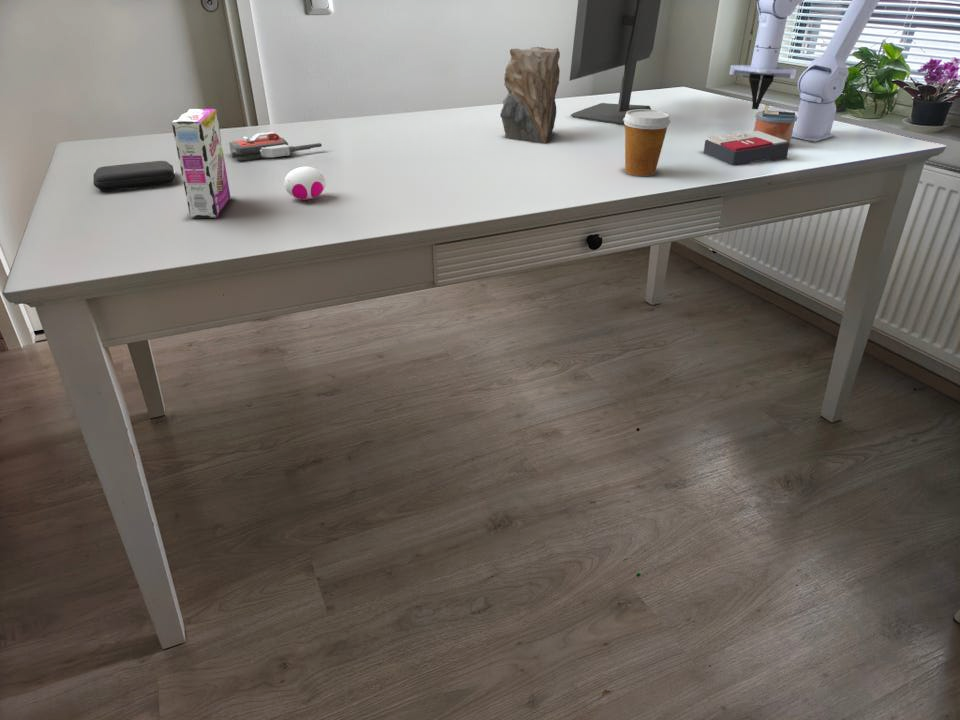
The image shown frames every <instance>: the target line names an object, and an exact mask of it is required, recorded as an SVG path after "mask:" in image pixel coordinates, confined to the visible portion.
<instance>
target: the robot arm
mask: <svg viewBox="0 0 960 720" xmlns="http://www.w3.org/2000/svg"><path fill="white" fill-rule="evenodd" d="M804 1H805V0H757V1H756V9H757V12H758V19H757V20H758V26H757V32H756V38H755V42H754V47H753V53H752V58H751V62H750V64H731V65H730V68H729V75H730V76H734V75H736V76H737V75H738V76H739V75H740V76H749V77H748V82H749V85H750V90H751V100H752V101H751V102H752V105H751V109H752V110H759V107H760V104H761V103H762V100H763V98H764V96H765V94H766V93H767V91H768V89H769V88H770V87H771V85H772V83H773V82H774V78H780V79H781V78H784V79H790V80H795V79H796V75H797V70H798V69H797V68H789V67H781V66H778V64H779V58H780V53H781V49H782V45H783V44H782V43H783V40H784V34H785V30H786V27H787V26H786V25H787V21H788V17H790V16H791V15H792V14H793V13H794V12H795V10H796V9H797V6H798V5H800V4H801V3H803V2H804ZM880 1H881V0H851V1H850V3H849V4H848V7H847V9H846V11H845V13H844V14H843V17H842V18H841V20H840V22H839V23H838V25H837V27H836V29H835V31H834V33H833V35H832V37H831V39H830V41H828V42H829V43H828V44H827V45H826V47H825V50H824V51H823V54H821V55H820V56H818V57H816V58H815V59H813V60H811V61H810V64H809V65H808V67H807V68H806V69H805V70H804V71H803V72H802V73H801V75H800V76H799V78H798V80H797V91H798V92H799V98H800V101H799V106H798V110H797V115H796V116H797V121H795V124H794V128H793V133H792V137H791V138H795V139H800V140H804V141H808V142H815V143H816V142H818V141H819V142H820V141H822V140H825V139H829V138H832V137H833V136H834V133H831V132H832V128H833V125H834V121H835V117H836V113H837V104H836V103H835V102H836V100H837V99H838V98H839V97H840V96H841V95H842V94H843V91H844V90H845V85H846V81H847V78H848V77H849V74H850V72H849V69H848V67H847V65H846V63H847V60H848V59H849V57H850V55H851V53H852V52H853V49H854V47H855V46H856V44H857V42H858V40H859V38H860V37H861V35H862V33H863V31H864V30H865V28H866V26H867V24H868V22H869V21H870V19H871V16H873V13H874V11H875V9H876V8H877V6H878V4H879V2H880Z"/></svg>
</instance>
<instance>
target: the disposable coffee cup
mask: <svg viewBox="0 0 960 720" xmlns="http://www.w3.org/2000/svg"><path fill="white" fill-rule="evenodd" d="M623 120H624V151H625V152H624V155H625V156H624V168H625V169H624V170H625V171H624V172H625V173H626V174H628V175H630V176H631V175H632V176H636V177H649V176H653V175H656V172H657V167H658V163H659V159H660V156H661V153H662V150H663V145H664V142H665V138H666V134H667V130H668V127H669V126H670V124H671V119H670V114H669V113H668V112H665V111H664V110H663V111H662V110H657V109H651V110H649V109H636V110H630V111H627V112H626V115H625V117H624V118H623Z"/></svg>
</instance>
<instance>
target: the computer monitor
mask: <svg viewBox="0 0 960 720" xmlns="http://www.w3.org/2000/svg"><path fill="white" fill-rule="evenodd" d="M661 4H662V0H577V8H576V18H575V26H574V35H573V45H572V53H571V63H570V71H569V73H570V74H569V82H571V81H574V80H578V79H581V78H584V77H588V76H591V75H595V74H598V73H602V72H605V71H609V70H613V69H616V68H620V67H623V66H624V71H623V76H622V79H621V84H620V90H619V97H618V103H607V102H606V103H605V102H601V103H597V104H594V105H591V106H589V107H587V108H583V109H580V110H577V111H575V112H573V113H571V114H570V115H569V116H570V117H571V118H575V119H580V120H581V119H582V120H587V121H595V122H599V123H600V122H601V123H607V124H613V125H614V124H615V125H620V126H625V124H624V120H623V118H624V117H625V115H626V112H627V111H630V110H636V109H649V110H652V108H651V106H650V105H645V104H644V105H642V104H630V103H631V98H632V97H631V96H632V93H633V92H632V91H633V87H634V86H633V85H634V79H635V75H636V68H637V62H640V61H643V60H646V59H648V58H650V57H651V55H652V52H653V50H654V44H655V38H656V33H657V28H658V21H659V15H660V9H661Z"/></svg>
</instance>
